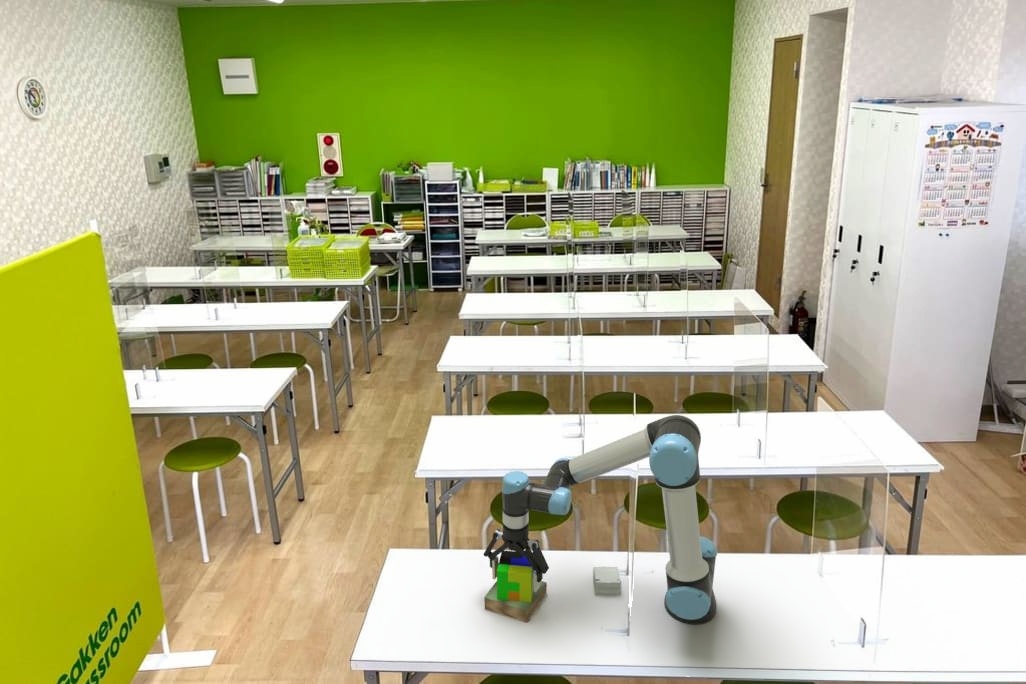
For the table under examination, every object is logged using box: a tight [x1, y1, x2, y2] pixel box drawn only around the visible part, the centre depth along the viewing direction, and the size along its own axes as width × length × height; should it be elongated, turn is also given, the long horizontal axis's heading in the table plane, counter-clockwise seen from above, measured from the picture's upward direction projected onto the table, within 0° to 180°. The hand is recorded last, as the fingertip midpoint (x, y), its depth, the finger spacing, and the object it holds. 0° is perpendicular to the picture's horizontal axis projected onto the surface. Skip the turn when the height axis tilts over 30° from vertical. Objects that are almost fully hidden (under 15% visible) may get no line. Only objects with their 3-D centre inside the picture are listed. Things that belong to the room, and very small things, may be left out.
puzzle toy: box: [496, 550, 535, 602], centre depth 228 cm, size 10×10×10 cm
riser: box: [483, 580, 548, 624], centre depth 230 cm, size 14×14×4 cm
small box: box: [592, 566, 622, 596], centre depth 236 cm, size 8×8×5 cm
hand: (515, 583), depth 229 cm, fingers open, 13 cm apart
